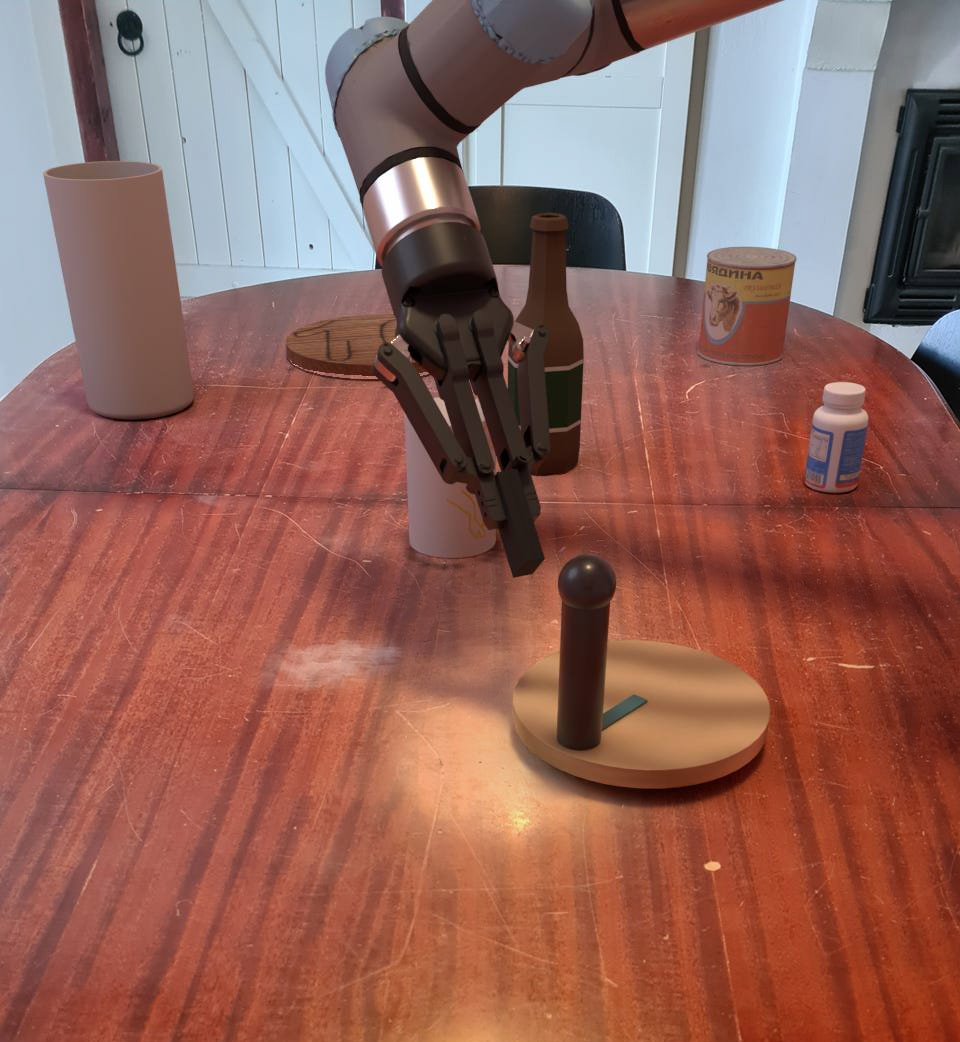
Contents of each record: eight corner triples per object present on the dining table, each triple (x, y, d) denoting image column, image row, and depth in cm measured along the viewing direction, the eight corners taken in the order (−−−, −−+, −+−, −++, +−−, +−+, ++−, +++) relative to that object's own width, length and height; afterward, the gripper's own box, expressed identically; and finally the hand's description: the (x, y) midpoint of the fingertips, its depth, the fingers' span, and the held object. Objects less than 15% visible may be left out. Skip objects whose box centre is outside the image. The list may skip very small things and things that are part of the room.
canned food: (680, 353, 165) (688, 255, 158) (733, 337, 171) (744, 242, 164) (747, 371, 159) (759, 270, 151) (800, 354, 165) (814, 256, 157)
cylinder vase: (171, 383, 155) (137, 157, 140) (211, 409, 147) (179, 172, 132) (74, 400, 150) (27, 167, 135) (110, 429, 142) (65, 184, 126)
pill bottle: (856, 477, 129) (874, 381, 123) (857, 496, 124) (875, 397, 118) (803, 473, 130) (818, 377, 124) (802, 492, 125) (817, 394, 119)
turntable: (536, 647, 96) (541, 464, 87) (770, 669, 93) (800, 482, 84) (489, 772, 82) (490, 568, 73) (763, 803, 79) (798, 595, 70)
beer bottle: (582, 453, 135) (594, 208, 120) (574, 478, 129) (585, 224, 114) (512, 449, 136) (515, 206, 121) (501, 474, 130) (502, 221, 115)
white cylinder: (468, 564, 112) (467, 431, 104) (392, 547, 115) (386, 417, 108) (511, 533, 117) (512, 405, 110) (437, 517, 120) (434, 391, 113)
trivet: (298, 386, 154) (297, 371, 153) (277, 334, 173) (275, 320, 172) (492, 372, 158) (492, 357, 157) (450, 323, 178) (450, 309, 177)
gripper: (500, 275, 91) (594, 573, 89) (332, 293, 87) (426, 605, 85) (533, 208, 84) (635, 529, 82) (351, 224, 80) (454, 563, 78)
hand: (528, 568), depth 84 cm, fingers closed
